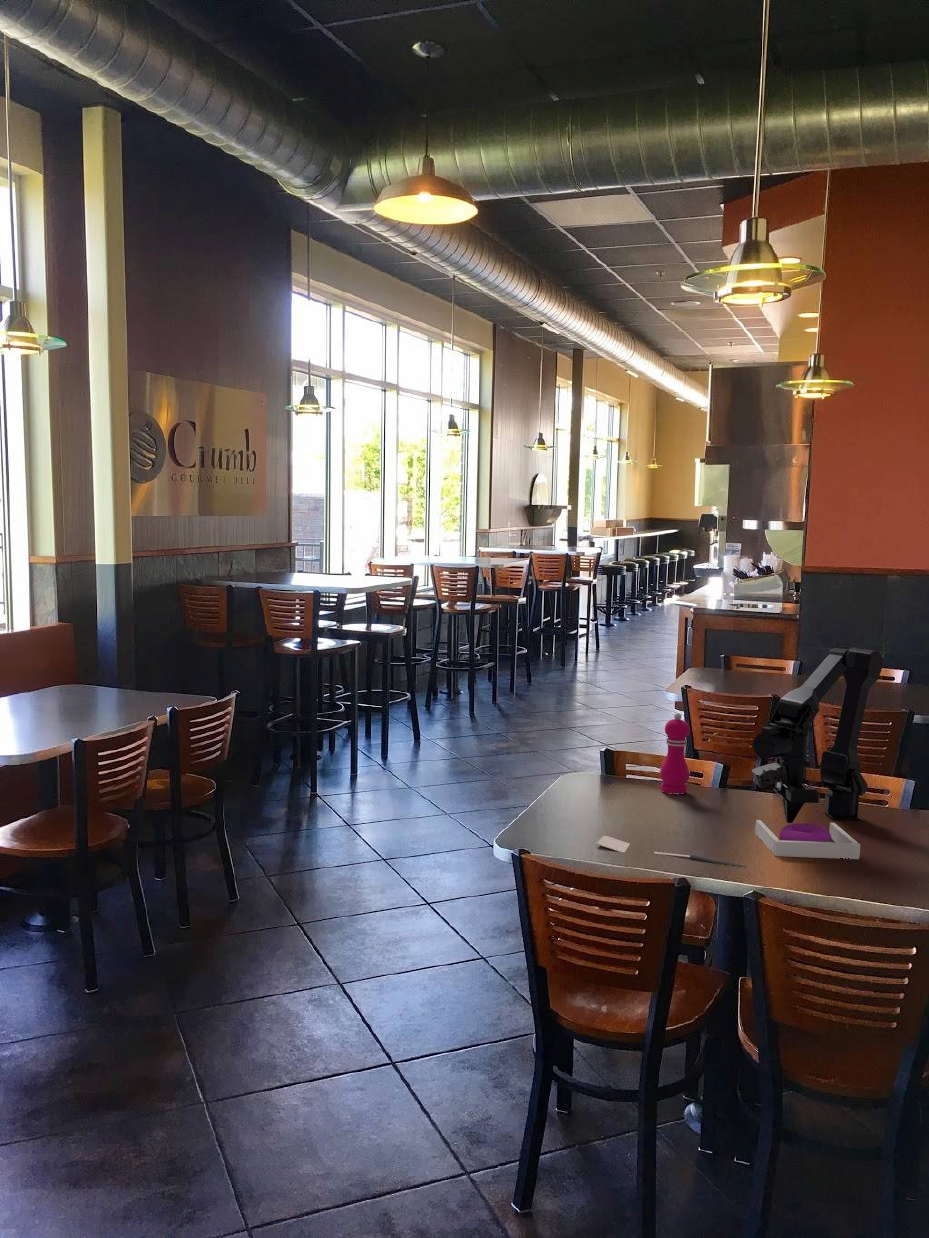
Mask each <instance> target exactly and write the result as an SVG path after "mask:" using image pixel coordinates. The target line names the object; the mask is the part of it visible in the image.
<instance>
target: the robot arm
mask: <svg viewBox="0 0 929 1238" xmlns="http://www.w3.org/2000/svg"><path fill="white" fill-rule="evenodd" d="M883 668H884V658H883V656H882V655H881V653H880V652H879V651H878V650H872V649H864V648H858V647H850V648H849V649H845V648H837V647H834V648H831V649H829V650H828V652H827V654H826V658H825V659H823V661H822V662H821V663H820V664H819V665H818V666H817V667H816V669H815V670H814V671H813V672H812V673H811V675H809V676H808V678H807V679H806V680H805V682H803V684H802V685H801V686H799V687H797V688H795V689H792V690H790V691H788V692H787V693H786V694H784V696H782V697H781V698H780V699H779V701H778V703H777V704H776V707H775V709H774V710H773V712H772V714H771V716H770V718H769V720H768V722H767V725H766V726H762V728H761V733H758V734H757V735H756V736H755V738H754V740H753V741H752V742H753V743H752V746H753V750H754V751H753V752H754V753H755V754H756V757H759V758H760V759H762V760H772V759H774V762H772V763H769V764H765V765H761V766H758V767H755V768H752V770H751V774H752V776H753V780H754V783H755V784H756V785H757V786H758V787H759V788H761V789H763V788H767V787H768V786H771V785H774V784H776V787H773V790H774V791H775V792H776V794H778V796H780V798H781V803H782V807H783V811H784V817H785V822H786V823H787V824H794V823H793V822H794V821H795V819H796V817H797V816H798V815H799V813H800V811H801V809H802V808H803V806H804V805H805V804H806V803H808V804H819V803H820V801H821V793H820V792H819V791H818V790H817V789H816V788H814V786H812V785H811V784H810V783H809V782H810V781H809V778H807V767H810V764H811V763H810V762H811V761H810V760H808V746H809V745H808V743H809V734H814V733H815V729H814V728H813V727H812V726H811V724H812V722H813V721H814V720H815V718H816V716H817V715H818V713H819V712H820V702H821V700H822V699H823V698H824V697H825V695H827V693H828V692H829V691H830V689H832V687H833V686H834V684H836V683H837V681H838V680H839V678H841V676H842V677H843V679H844V681H845V690H844V695H843V699H842V705H841V708H840V709H841V710H840V714H839V718H838V724H837V729H836V733H835V738H834V743H833V745H832V746H831V747H830V748H829V749H828V750H823V751H822V754H821V761H820V763H819V767H818V768H819V775H820V781H821V782H820V783H821V787H822V788H826V789H827V794H825V795H824V809H823V812H824V814H826V815H827V816H829V817H830V818H831V819H833V820H845V821H846V820H848V821H861V820H862V818H861V817H860V816H859V807H860V805H859V804H860V797H861V796H864V795H865V794H866V792H867V790H868V787H869V785H868V783H867V781H866V779H865V778H864V776H863V775H862V774H861V770H862V769H861V768H862V767H861V766H862V762H861V760H860V757H859V756H860V755H859V754H858V751H857V748H858V744H859V738H860V733H861V729H862V724H863V719H864V715H865V710H866V705H867V700H868V695H869V691H870V688H872V686H873V685H874V684H875V683H876V682H877V681H878V680H879V679H880V675H881V672H882V669H883ZM809 784H810V785H809Z"/></svg>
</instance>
